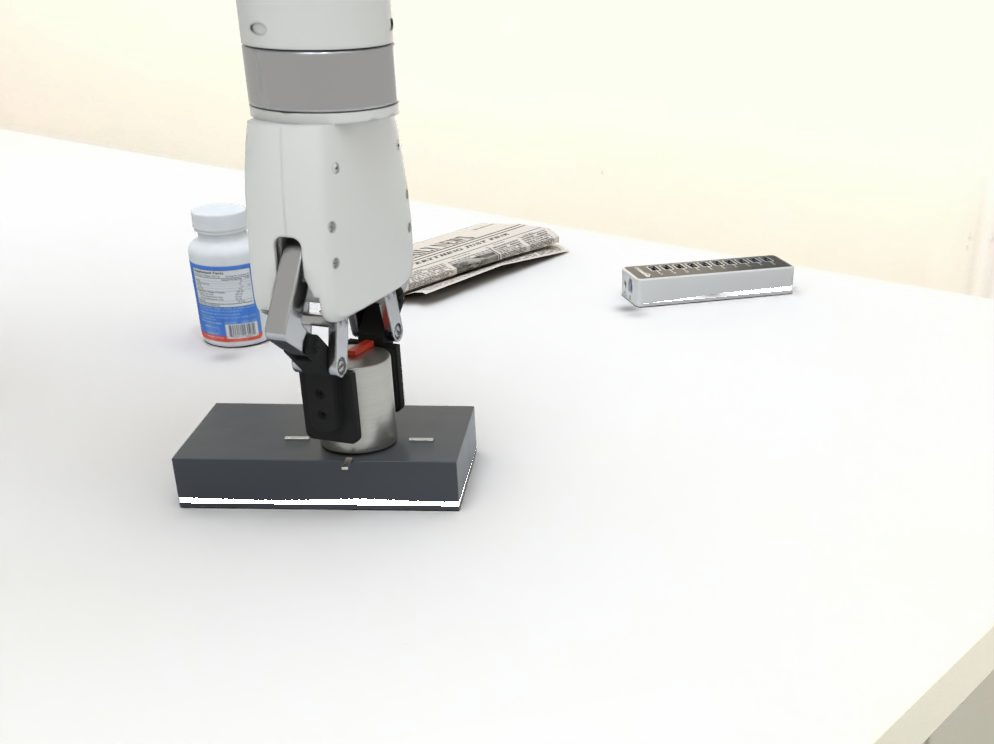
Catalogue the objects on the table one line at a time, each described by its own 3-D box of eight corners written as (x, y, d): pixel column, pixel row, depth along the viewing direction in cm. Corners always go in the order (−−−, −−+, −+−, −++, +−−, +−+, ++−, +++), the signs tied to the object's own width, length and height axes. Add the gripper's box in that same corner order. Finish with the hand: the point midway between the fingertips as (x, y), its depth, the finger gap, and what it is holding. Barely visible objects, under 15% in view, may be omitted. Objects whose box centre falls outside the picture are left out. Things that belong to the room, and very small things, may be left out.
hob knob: (374, 458, 75) (365, 367, 72) (305, 448, 76) (294, 357, 73) (411, 431, 78) (404, 343, 76) (345, 422, 80) (336, 335, 77)
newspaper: (420, 309, 110) (415, 278, 109) (317, 300, 117) (311, 271, 116) (581, 251, 127) (578, 224, 125) (482, 246, 133) (479, 220, 132)
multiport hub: (794, 293, 116) (796, 266, 115) (637, 307, 111) (637, 279, 110) (773, 280, 119) (774, 254, 118) (620, 293, 115) (620, 266, 114)
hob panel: (172, 517, 75) (163, 464, 73) (222, 447, 84) (215, 400, 82) (456, 520, 75) (453, 468, 73) (476, 450, 84) (474, 403, 82)
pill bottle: (229, 324, 106) (210, 198, 101) (287, 331, 105) (271, 203, 100) (187, 343, 102) (165, 213, 97) (247, 351, 100) (229, 219, 95)
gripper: (339, 59, 75) (368, 371, 85) (158, 102, 61) (217, 469, 71) (460, 66, 73) (477, 384, 83) (302, 112, 59) (343, 488, 69)
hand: (356, 420), depth 77 cm, fingers closed on hob knob, 4 cm apart
